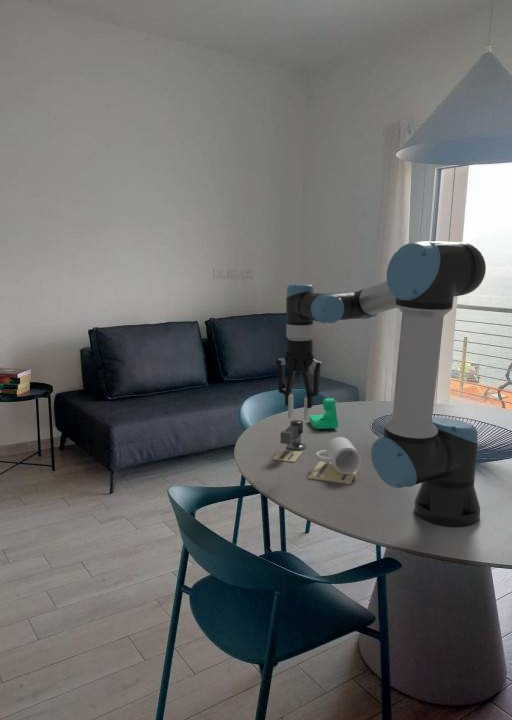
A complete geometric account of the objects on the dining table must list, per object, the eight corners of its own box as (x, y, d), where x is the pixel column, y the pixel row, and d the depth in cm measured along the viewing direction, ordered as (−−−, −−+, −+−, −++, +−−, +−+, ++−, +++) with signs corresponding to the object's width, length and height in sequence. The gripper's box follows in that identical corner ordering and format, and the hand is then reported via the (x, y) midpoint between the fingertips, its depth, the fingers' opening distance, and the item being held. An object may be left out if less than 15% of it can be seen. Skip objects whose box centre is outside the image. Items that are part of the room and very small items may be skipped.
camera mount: (308, 422, 217) (308, 395, 215) (328, 421, 218) (328, 394, 216) (316, 431, 205) (317, 403, 203) (337, 430, 206) (338, 402, 204)
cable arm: (292, 430, 191) (292, 419, 190) (304, 431, 189) (304, 421, 189) (279, 443, 178) (279, 432, 178) (291, 444, 177) (291, 433, 176)
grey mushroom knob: (302, 451, 185) (302, 437, 185) (284, 448, 188) (284, 435, 187) (307, 445, 191) (308, 431, 190) (290, 443, 193) (290, 429, 192)
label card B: (350, 484, 159) (350, 483, 159) (307, 478, 164) (307, 477, 163) (361, 464, 174) (361, 462, 174) (321, 459, 178) (321, 458, 178)
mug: (352, 461, 175) (352, 436, 174) (360, 474, 165) (361, 447, 164) (312, 463, 174) (312, 438, 173) (319, 476, 164) (319, 449, 163)
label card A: (294, 462, 176) (294, 461, 176) (272, 459, 178) (272, 458, 178) (302, 452, 184) (303, 451, 184) (281, 450, 186) (281, 449, 186)
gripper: (332, 338, 167) (330, 417, 171) (275, 335, 173) (274, 411, 177) (325, 342, 160) (324, 424, 165) (266, 338, 166) (266, 418, 170)
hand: (298, 417), depth 171 cm, fingers open, 4 cm apart
